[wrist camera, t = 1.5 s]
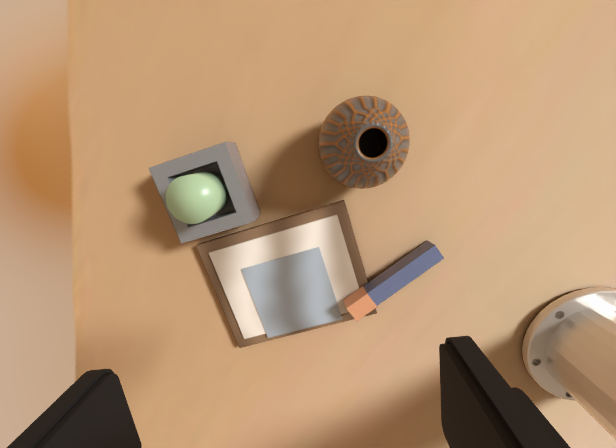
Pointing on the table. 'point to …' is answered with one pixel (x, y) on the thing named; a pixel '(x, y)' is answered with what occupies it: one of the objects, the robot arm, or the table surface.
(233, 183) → the button box
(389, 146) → the vase
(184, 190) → the button
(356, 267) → the picture frame
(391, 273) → the marker
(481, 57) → the table surface
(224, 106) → the table surface
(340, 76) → the table surface
